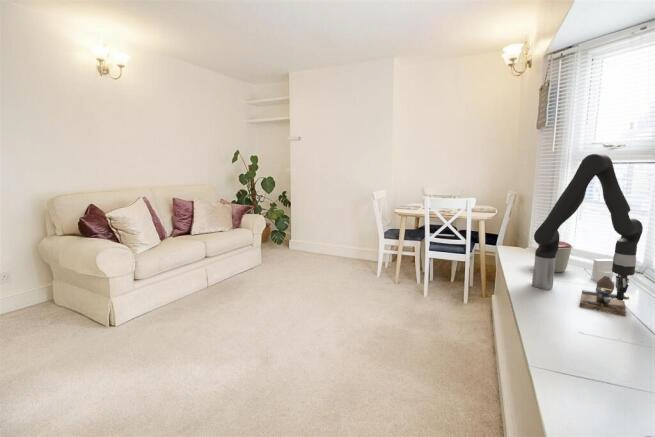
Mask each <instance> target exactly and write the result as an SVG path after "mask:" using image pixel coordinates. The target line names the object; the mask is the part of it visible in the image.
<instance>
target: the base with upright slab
mask: <svg viewBox="0 0 655 437" xmlns="http://www.w3.org/2000/svg"><path fill="white" fill-rule="evenodd" d="M612 265H613V259H611V258H594V259H593V264H592V270H591V280H592V281H595V282H596V283H597V282H598V281H599V280H600V279H601V278H603V276H608V277H610V279H611V281H612V282H613V274H614V272H612Z"/></svg>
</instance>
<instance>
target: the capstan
mask: <svg viewBox="0 0 655 437" xmlns="http://www.w3.org/2000/svg"><path fill="white" fill-rule="evenodd" d="M611 292H612V290H611V289H606V288H600V287H597V286H596V287H595V291H593V290H585V289H582V290H581V293H582V294H586V295H594V296H597V297H596V301H598V302H601V303H610V299H609V298H611V299H616V300H617V298H616V296H617V293H616V294H615V293H613V292H612V293H611ZM625 300H626V301H629V300H630V297H629V295H624V298H623V301H625Z"/></svg>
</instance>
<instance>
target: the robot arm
mask: <svg viewBox="0 0 655 437" xmlns="http://www.w3.org/2000/svg"><path fill="white" fill-rule="evenodd" d="M595 177H597V180H598V181H599V183H600V184H601V189H602V197H603V200H604V204H605V205H606V208H607V209H608V211H609V214H610V219H611V224H612V227H613V229H614V231H615V233H616V234H618V235H620V238H619V239H618V240H617V241H616V242H615V246H614V247H615V248H614V252H613V253H614V254H613V259H612V260H613V265H612V272H613V274H616V275H615V288H616V295H617V296H616V298H617V299H616V298H615V299H616V300H622V301H624V299H623V298H624V296H625V294H626V293H627V290H628V288H629V283H630V282H629V281H630V279H629V276H635V271H636V264H637V252H638V250H637V248H638V243H639V241H640V240H641V237H642V234H643V231H644V230H643V228H644V226H643V224H642V222H641V221H640V220H638V219H636V218H631V217H630V214H629V213H630V212H631V207H630V205H629V202H628V201H627V199H626V197H625V195H624V193H623V190H622V188H621V187H620V184H619V182H618V178H617V176H616V170H615V168H614V164H613V161H612V159H611V157H610V156H609V155H607V154H604V153H603V154H602V153H592V154H591V153H590V154H589V155H586V156H585V157H584V158H583V159H582V161H581V162H580V164H579V166H578V168H577V169H576V171H575V172H574V175H573V177H572V179H571V180H570V182H569V183H568V184H567V186H566V187H565V189H564V191H563V192H562V193H561V194H560V196H559V197H558V199H557V200H556V202H555V204H554V205H553V207H552V209H550V210H551V211H550V212H549V214H548V216H547V217H546V218H545V220H544V221H543V222H542V223H541V224H540V226H539V227H538V228H537V229H536V230H535V232H534V234H533V238H534V242H535V243H536V244H537V243H538V244H539V245H538V244H537V245H538V247H537V248H536V249H535V252H534V253H535V254H534V263H533V264H534V266H533V271H532V279H531V280H532V283H531V286H532V287H535V288H537V289H542V290H551V289H553V287H554V280H555V279H554V278H555V277H554V276H555V272H554V268H555V258H556V253H557V251H558V246H559V241H560V232H559V228H560V227H561V226H562V225H563V224H564V223H565V222H566V221H567V220H568V219H570V218H571V217H572V216H573V215H574V214H575V213H576V212H577V210H578V209H579V208H580V206H581V205H582V204H583V202H584V199H585V197H586V193H587V189H588V186H589V185H590V183H591V182H592V180H593V179H594V178H595Z"/></svg>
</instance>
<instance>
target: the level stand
mask: <svg viewBox="0 0 655 437" xmlns="http://www.w3.org/2000/svg"><path fill="white" fill-rule="evenodd" d="M580 294H581V295H580V299H579V307H580V308H585V309H590V310H594V309H596V311H599V310H601V311H600V312H604V311H605V312H604V313H609V312H610V313H609V314H613V313H614V315H618V316H624V317H626V313H627V311H626V310H627V309H626V303H625V302H626V301H625V300H617V299H616V298H609V299H610V303H601V302H598V301H596V297H597V296H594V295H586V294H582V292H581V293H580Z"/></svg>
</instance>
